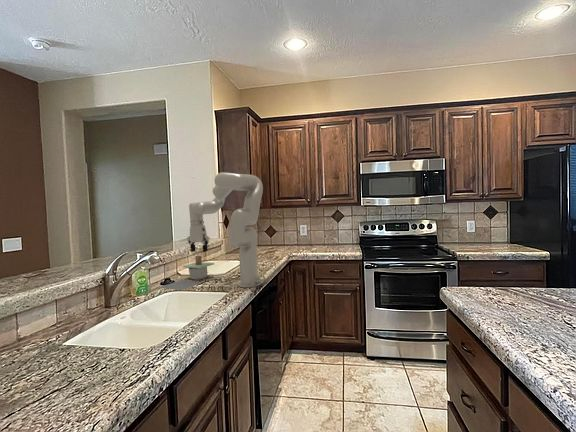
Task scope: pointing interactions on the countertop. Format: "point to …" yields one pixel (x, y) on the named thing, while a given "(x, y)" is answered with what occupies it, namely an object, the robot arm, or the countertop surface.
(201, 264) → the lid
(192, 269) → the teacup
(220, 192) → the robot arm
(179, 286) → the mat
